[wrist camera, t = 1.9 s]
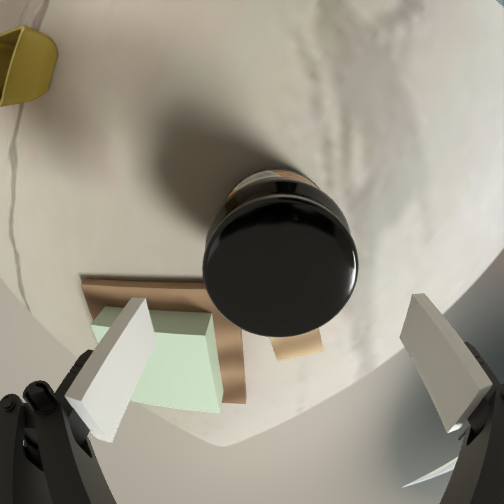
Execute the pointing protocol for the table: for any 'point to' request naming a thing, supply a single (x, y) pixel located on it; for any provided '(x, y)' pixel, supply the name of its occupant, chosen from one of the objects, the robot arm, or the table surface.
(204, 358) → the pedestal slab
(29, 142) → the table surface
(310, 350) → the block
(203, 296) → the board
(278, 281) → the supplement container
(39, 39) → the flower pot
